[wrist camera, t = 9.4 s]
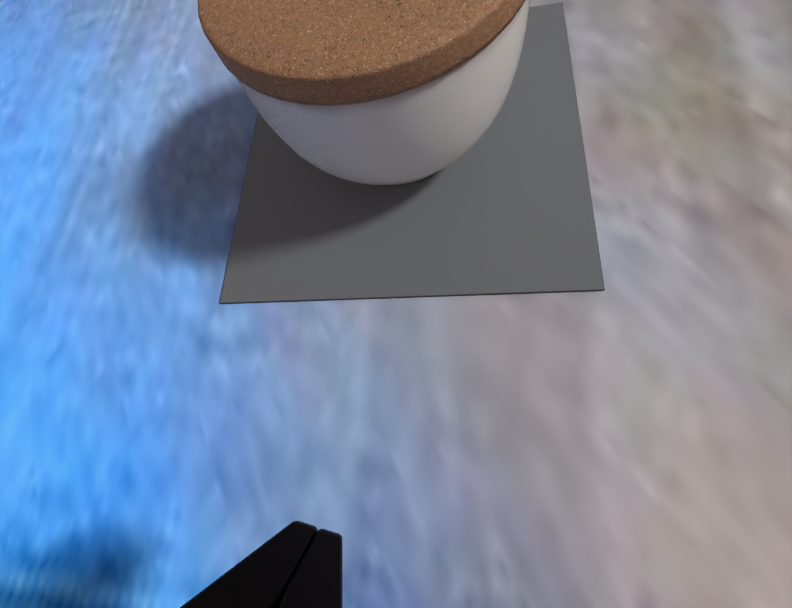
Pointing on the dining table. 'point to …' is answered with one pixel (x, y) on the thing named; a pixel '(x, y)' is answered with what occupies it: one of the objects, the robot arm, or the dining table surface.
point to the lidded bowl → (372, 76)
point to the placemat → (432, 207)
